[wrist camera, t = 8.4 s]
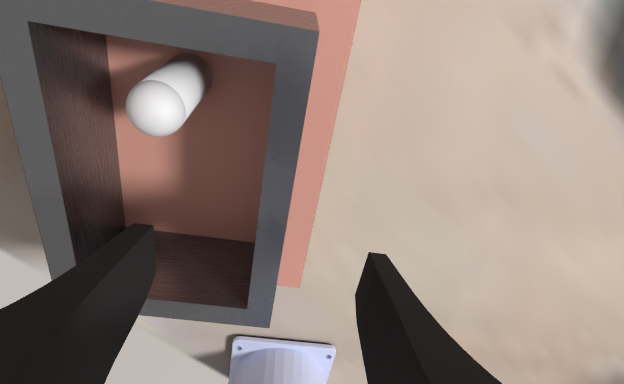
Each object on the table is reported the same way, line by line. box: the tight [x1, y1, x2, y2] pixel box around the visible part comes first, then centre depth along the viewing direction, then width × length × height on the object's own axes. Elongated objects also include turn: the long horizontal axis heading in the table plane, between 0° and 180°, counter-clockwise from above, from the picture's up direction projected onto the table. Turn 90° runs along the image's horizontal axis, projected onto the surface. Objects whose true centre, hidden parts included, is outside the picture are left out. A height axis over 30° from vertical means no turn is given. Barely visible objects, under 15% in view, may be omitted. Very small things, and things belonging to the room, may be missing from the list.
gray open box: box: [0, 0, 320, 328], centre depth 17 cm, size 14×10×5 cm
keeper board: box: [106, 0, 361, 288], centre depth 17 cm, size 18×14×7 cm
